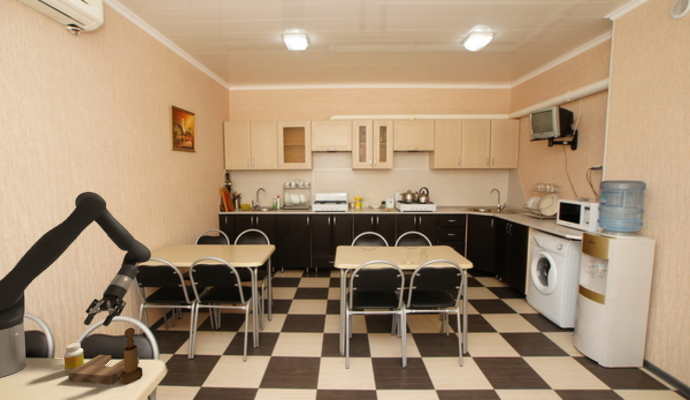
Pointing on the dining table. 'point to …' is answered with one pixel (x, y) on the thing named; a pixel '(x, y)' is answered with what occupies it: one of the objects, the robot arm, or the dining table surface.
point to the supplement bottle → (73, 357)
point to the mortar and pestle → (130, 360)
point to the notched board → (98, 371)
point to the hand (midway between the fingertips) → (95, 325)
